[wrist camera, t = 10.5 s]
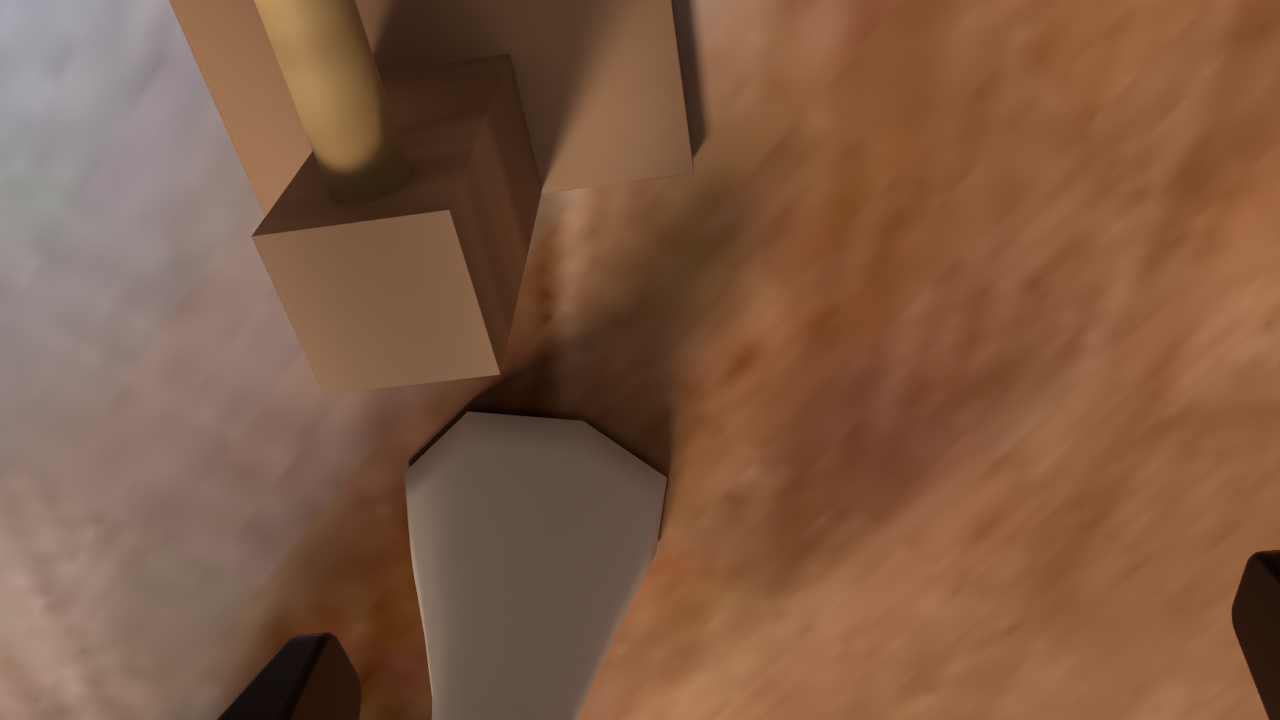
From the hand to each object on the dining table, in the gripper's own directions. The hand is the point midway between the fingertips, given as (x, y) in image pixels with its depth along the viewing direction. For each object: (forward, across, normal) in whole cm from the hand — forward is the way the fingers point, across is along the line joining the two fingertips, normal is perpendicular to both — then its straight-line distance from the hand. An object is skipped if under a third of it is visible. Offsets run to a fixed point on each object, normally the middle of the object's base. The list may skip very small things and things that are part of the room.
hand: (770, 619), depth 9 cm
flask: (+12, +6, +10) cm, 17 cm away
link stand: (+12, +5, -7) cm, 15 cm away
